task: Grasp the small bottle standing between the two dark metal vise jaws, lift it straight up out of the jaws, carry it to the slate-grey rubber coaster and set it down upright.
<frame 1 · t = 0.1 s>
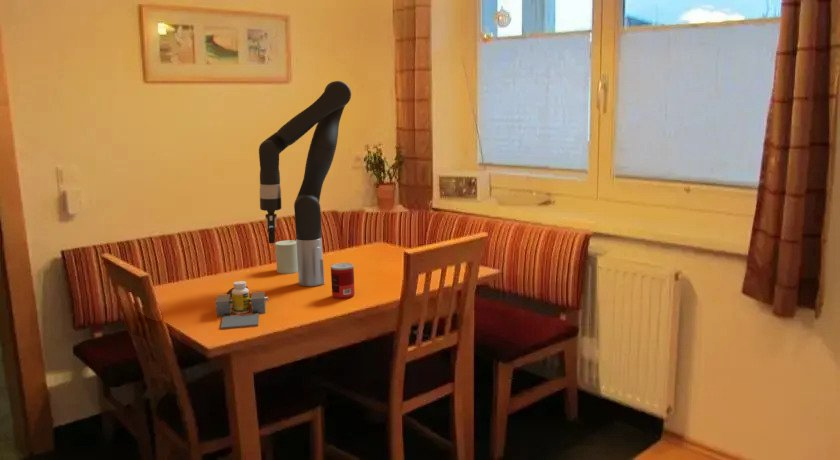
hand: (271, 240, 255), 17 cm above the table, tool pointing down, fingers open, 8 cm apart
coaster: (240, 321, 219), on the table
can: (288, 271, 281), on the table
canned food: (343, 296, 244), on the table
supplement bottle: (241, 312, 229), on the table
brown rock: (237, 299, 244), on the table
vise: (241, 311, 229), on the table
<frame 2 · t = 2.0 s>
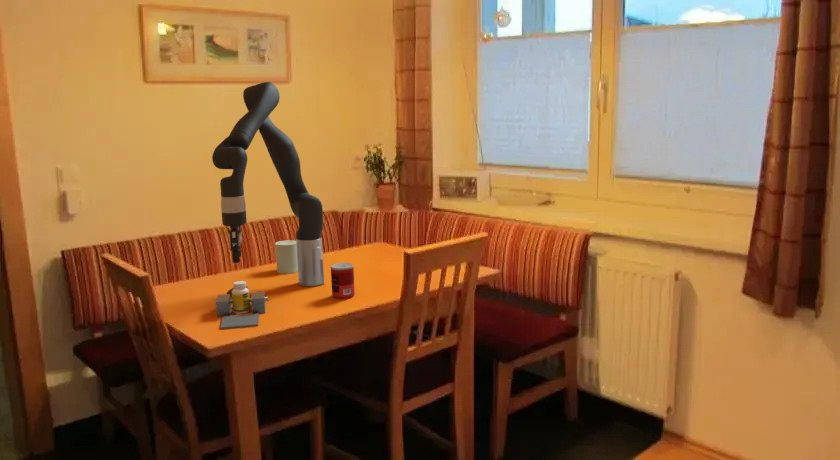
hand: (237, 259, 226), 17 cm above the table, tool pointing down, fingers open, 8 cm apart
nothing on the table moved.
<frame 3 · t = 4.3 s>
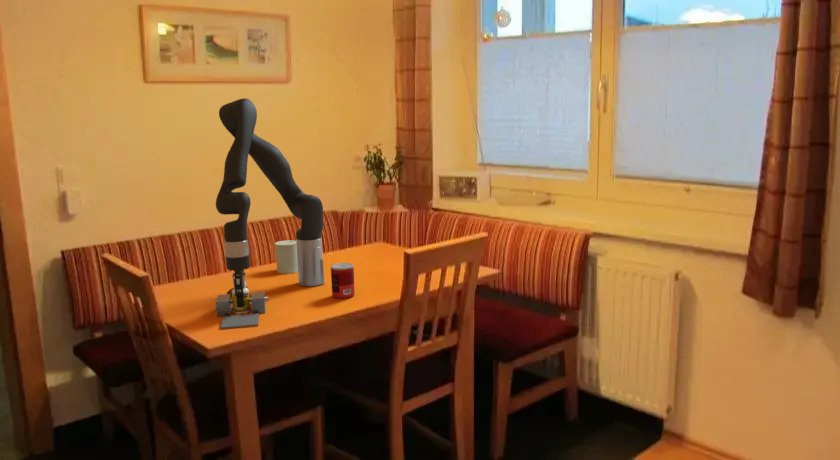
hand: (241, 304, 229), 2 cm above the table, tool pointing down, fingers closed on supplement bottle, 5 cm apart
supplement bottle: (241, 312, 229), on the table, touching gripper
everything else where it was.
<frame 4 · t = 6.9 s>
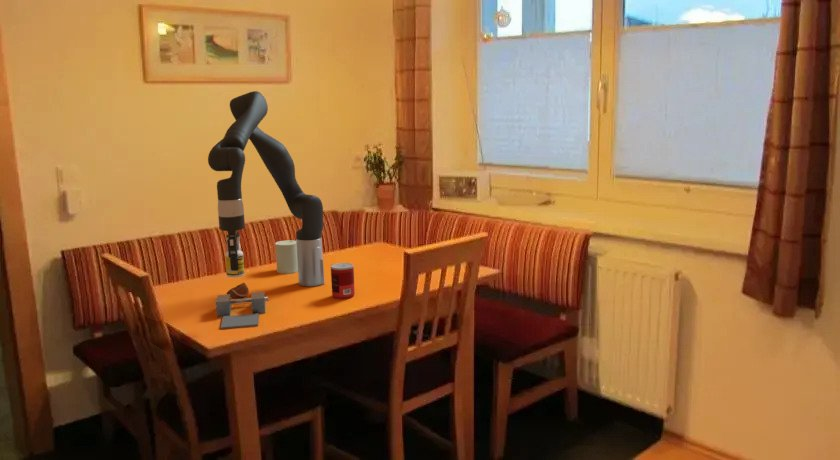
hand: (235, 267, 216), 17 cm above the table, tool pointing down, fingers closed on supplement bottle, 5 cm apart
supplement bottle: (235, 276, 216), point 15 cm above the table, touching gripper
everything else where it was.
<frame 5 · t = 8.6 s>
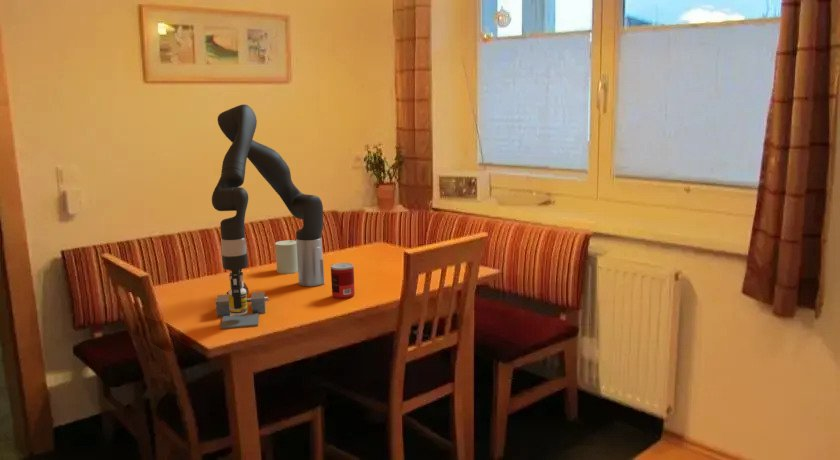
hand: (238, 305, 218), 5 cm above the table, tool pointing down, fingers closed on supplement bottle, 5 cm apart
supplement bottle: (238, 313, 218), point 3 cm above the table, touching gripper
everything else where it was.
when the fingers open (4 cm above the table, at t = 9.7 s): supplement bottle drops 1 cm, resting on coaster.
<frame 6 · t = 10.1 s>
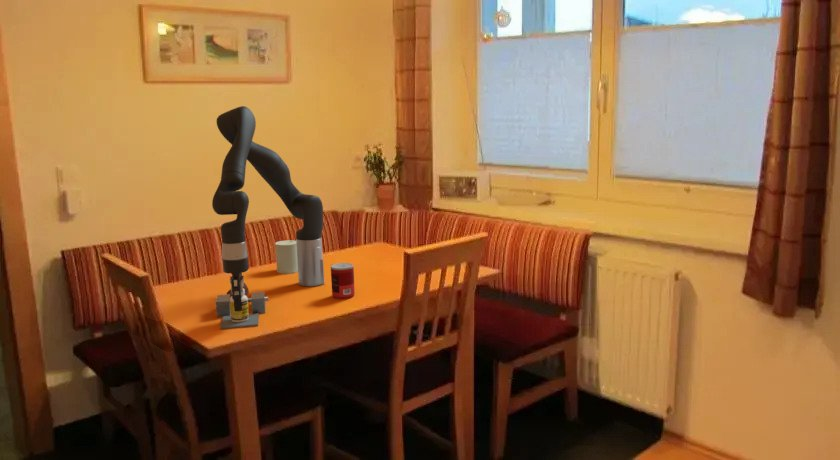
hand: (239, 306, 218), 5 cm above the table, tool pointing down, fingers open, 8 cm apart
supplement bottle: (240, 320, 219), resting on coaster
everything else where it was.
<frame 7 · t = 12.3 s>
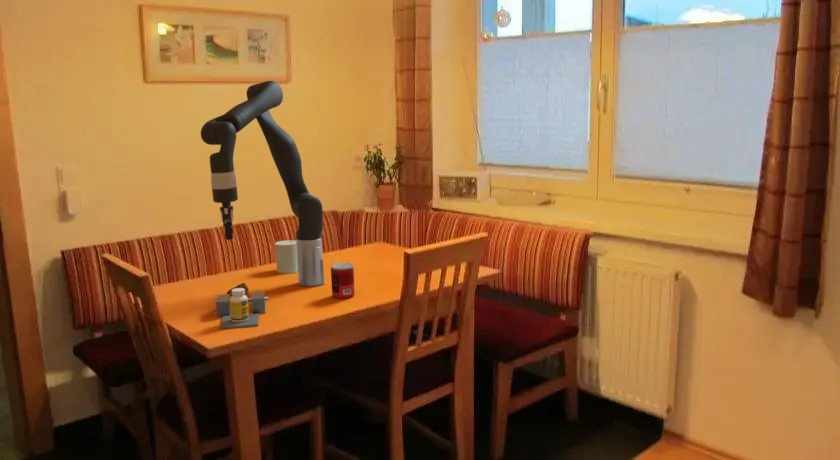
hand: (229, 236, 223), 25 cm above the table, tool pointing down, fingers open, 8 cm apart
nothing on the table moved.
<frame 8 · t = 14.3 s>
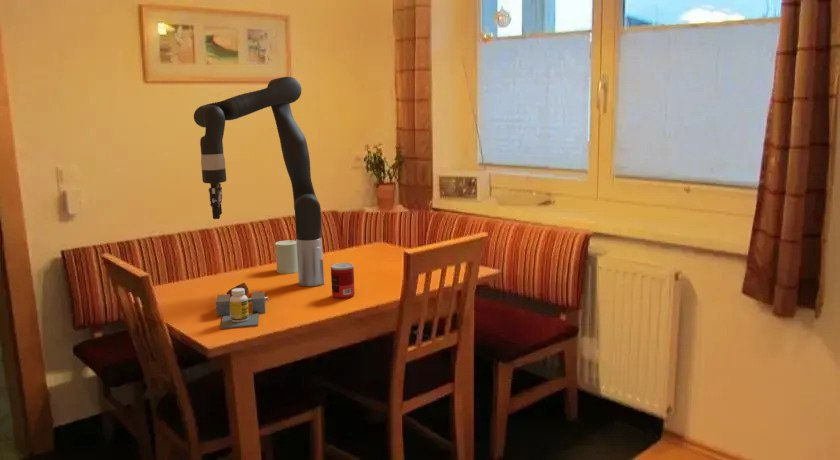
hand: (217, 216, 232), 30 cm above the table, tool pointing down, fingers open, 8 cm apart
nothing on the table moved.
at the end: supplement bottle inside the target area on the coaster (0.2 cm from its centre), point 0.4 cm above the coaster's base; supplement bottle tilted 0°; the gripper is holding nothing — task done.
